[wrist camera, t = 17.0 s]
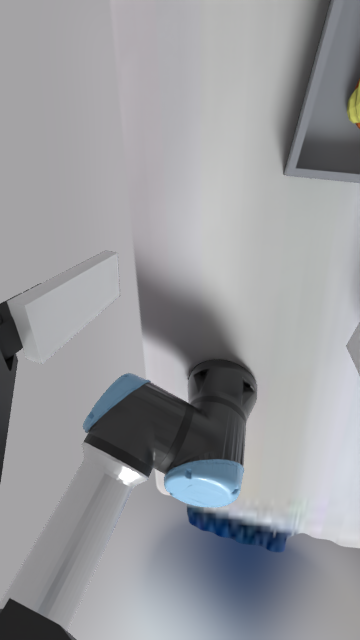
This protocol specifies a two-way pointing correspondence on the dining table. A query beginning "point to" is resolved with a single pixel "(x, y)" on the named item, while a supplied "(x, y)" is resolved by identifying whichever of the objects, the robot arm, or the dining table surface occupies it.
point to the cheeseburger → (354, 106)
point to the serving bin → (330, 102)
